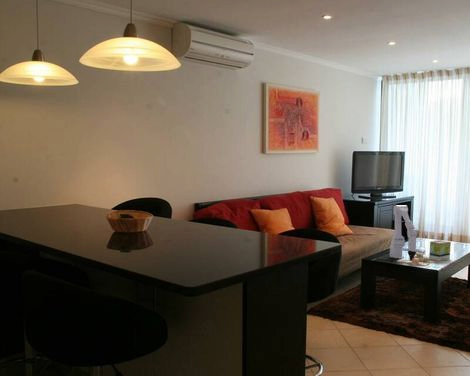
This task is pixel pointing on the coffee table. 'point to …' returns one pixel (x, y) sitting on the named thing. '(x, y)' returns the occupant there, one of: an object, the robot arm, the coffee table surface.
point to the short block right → (426, 260)
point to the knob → (415, 260)
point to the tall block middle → (420, 257)
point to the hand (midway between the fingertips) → (411, 260)
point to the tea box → (439, 250)
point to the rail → (412, 263)
